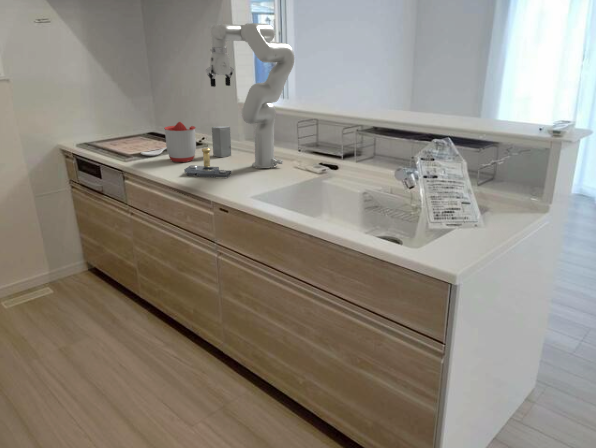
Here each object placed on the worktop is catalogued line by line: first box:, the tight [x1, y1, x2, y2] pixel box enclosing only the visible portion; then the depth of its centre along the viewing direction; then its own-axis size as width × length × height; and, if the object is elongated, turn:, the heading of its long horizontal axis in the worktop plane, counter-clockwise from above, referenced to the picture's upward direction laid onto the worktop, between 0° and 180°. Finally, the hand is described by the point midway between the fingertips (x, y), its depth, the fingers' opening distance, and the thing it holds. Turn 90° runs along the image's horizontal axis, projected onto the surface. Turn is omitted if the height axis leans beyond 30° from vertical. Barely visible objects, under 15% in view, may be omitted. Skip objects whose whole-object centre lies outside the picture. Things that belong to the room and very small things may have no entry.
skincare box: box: [211, 125, 232, 158], centre depth 265 cm, size 8×7×16 cm
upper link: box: [183, 164, 220, 177], centre depth 228 cm, size 14×8×4 cm, turn 81°
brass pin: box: [201, 147, 211, 167], centre depth 237 cm, size 4×4×10 cm
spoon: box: [140, 146, 167, 157], centre depth 272 cm, size 9×32×4 cm, turn 139°
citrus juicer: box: [164, 121, 197, 163], centre depth 253 cm, size 16×17×20 cm
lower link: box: [196, 169, 232, 178], centre depth 228 cm, size 14×8×2 cm, turn 81°
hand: (220, 86), depth 253 cm, fingers open, 9 cm apart
